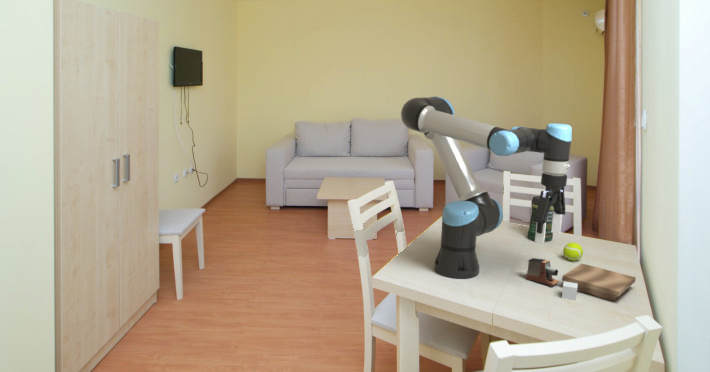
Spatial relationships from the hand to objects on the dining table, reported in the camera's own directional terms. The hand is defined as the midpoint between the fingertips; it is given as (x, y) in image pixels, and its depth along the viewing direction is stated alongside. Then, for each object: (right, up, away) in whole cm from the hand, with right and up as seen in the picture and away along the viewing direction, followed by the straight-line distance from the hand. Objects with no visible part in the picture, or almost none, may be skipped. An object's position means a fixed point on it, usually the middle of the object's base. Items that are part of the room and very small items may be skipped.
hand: (547, 237), depth 169 cm
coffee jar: (+14, -5, +47) cm, 49 cm away
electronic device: (-1, -15, +2) cm, 15 cm away
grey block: (+3, -17, -8) cm, 20 cm away
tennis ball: (+17, -11, +23) cm, 31 cm away
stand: (+15, -16, -2) cm, 22 cm away
